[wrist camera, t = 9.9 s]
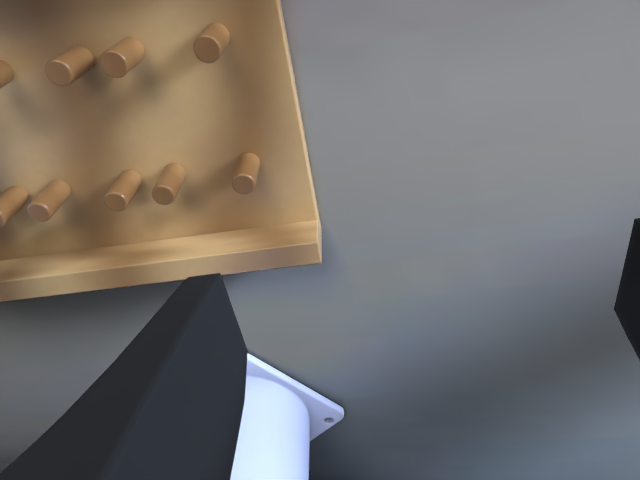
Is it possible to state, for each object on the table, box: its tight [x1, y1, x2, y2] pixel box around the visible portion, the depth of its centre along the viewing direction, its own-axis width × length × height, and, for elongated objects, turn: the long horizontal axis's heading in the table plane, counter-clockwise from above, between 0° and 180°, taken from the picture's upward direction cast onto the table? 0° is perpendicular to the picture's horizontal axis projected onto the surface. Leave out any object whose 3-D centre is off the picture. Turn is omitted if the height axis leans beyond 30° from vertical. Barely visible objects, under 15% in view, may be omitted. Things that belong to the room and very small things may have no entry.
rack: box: [0, 0, 322, 302], centre depth 17 cm, size 16×12×3 cm
